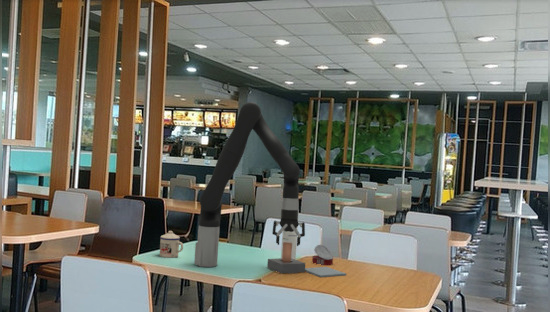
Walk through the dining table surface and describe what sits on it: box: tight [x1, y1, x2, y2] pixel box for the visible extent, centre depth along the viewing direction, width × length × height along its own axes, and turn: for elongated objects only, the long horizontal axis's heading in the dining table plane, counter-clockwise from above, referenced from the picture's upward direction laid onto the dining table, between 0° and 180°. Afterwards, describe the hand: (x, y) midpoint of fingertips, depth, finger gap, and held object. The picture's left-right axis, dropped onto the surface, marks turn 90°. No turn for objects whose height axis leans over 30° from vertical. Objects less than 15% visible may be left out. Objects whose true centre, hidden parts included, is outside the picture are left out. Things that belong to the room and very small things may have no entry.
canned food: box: [311, 244, 334, 266], centre depth 245 cm, size 11×10×10 cm
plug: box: [282, 242, 292, 262], centre depth 223 cm, size 4×4×12 cm
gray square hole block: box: [266, 257, 306, 275], centre depth 223 cm, size 12×12×4 cm
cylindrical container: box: [280, 209, 300, 260], centre depth 245 cm, size 7×7×25 cm
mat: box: [305, 266, 347, 278], centre depth 223 cm, size 14×14×1 cm
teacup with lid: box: [159, 230, 184, 259], centre depth 237 cm, size 12×9×12 cm
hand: (288, 245), depth 223 cm, fingers open, 8 cm apart
